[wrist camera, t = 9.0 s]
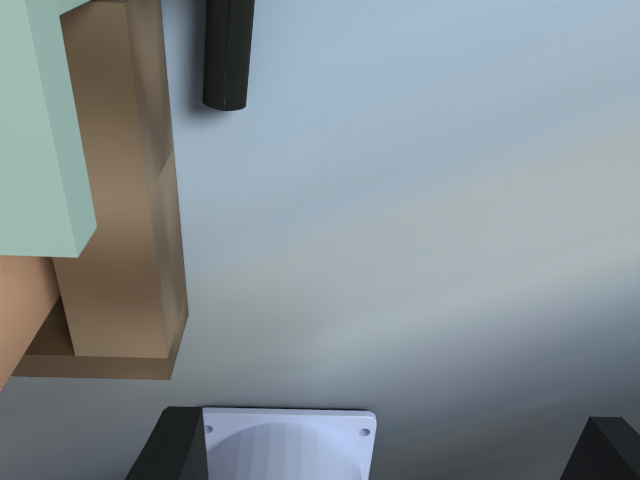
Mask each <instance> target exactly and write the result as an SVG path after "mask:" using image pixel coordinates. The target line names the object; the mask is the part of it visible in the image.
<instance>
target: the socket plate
mask: <svg viewBox="0 0 640 480" xmlns="http://www.w3.org/2000/svg"><path fill="white" fill-rule="evenodd" d="M59 19H60V24H61V30H62V35H63V41H64V46H65V52H66V58H67V63H68V69H69V74H70V80H71V85H72V91H73V96H74V102H75V107H76V113H77V119H78V124H79V130H80V135H81V141H82V146H83V152H84V157H85V163H86V168H87V174H88V180H89V185H90V191H91V196H92V202H93V207H94V213H95V218H96V224H97V228H96V230H95V231H94V233H93V234H92V236H91V238H90V239H89V241H88V242H87V244H86V246H85V247H84V249H83V250H82V252H81V253H80V255H79V257H78V258H74V257H52V259H53V263H54V267H55V272H56V276H57V280H58V284H59V289H60V293H61V295H60V296H59V298H58V299H57V301H56V303H55V304H54V306H53V308H52V309H51V311H50V312H49V314H48V316H47V317H46V319H45V321H44V322H43V324H42V325H41V327H40V329H39V330H38V332H37V334H36V335H35V337H34V338H33V340H32V342H31V343H30V345H29V346H28V348H27V350H26V351H25V353H24V355H23V356H22V358H21V359H20V361H19V363H18V364H17V366H16V368H15V369H14V371H13V372H12V374H11V376H28V377H69V378H111V379H153V380H170V378H171V375H172V371H173V368H174V364H175V360H176V357H177V353H178V350H179V346H180V343H181V339H182V336H183V332H184V329H185V325H186V322H187V318H188V315H189V314H188V303H187V292H186V281H185V270H184V258H183V247H182V236H181V225H180V214H179V203H178V191H177V180H176V169H175V158H174V147H173V136H172V124H171V113H170V102H169V91H168V80H167V68H166V57H165V46H164V35H163V24H162V13H161V1H160V0H90V1H88V2H85V3H83V4H81V5H79V6H77V7H75V8H73V9H71V10H69V11H67V12H65V13H63V14H61V15H59Z"/></svg>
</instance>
